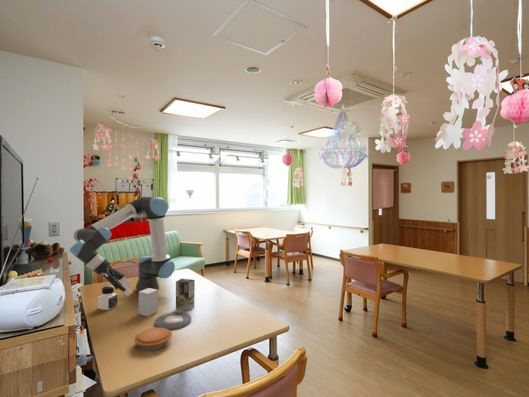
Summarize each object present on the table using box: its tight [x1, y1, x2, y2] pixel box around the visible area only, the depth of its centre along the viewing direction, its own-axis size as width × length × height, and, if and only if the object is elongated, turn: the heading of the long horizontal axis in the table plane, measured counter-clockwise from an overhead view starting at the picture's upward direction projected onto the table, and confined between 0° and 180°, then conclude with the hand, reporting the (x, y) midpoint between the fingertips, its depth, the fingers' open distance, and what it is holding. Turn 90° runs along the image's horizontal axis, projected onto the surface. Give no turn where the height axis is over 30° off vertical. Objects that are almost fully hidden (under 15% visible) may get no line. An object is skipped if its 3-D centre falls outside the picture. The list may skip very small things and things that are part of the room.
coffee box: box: [175, 278, 196, 311], centre depth 167 cm, size 9×6×16 cm
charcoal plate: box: [154, 311, 192, 331], centre depth 149 cm, size 18×18×1 cm
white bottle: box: [97, 285, 118, 311], centre depth 165 cm, size 7×7×12 cm
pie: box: [134, 327, 173, 352], centre depth 127 cm, size 15×16×5 cm
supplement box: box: [138, 288, 159, 317], centre depth 159 cm, size 7×7×13 cm
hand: (130, 290), depth 154 cm, fingers open, 13 cm apart
